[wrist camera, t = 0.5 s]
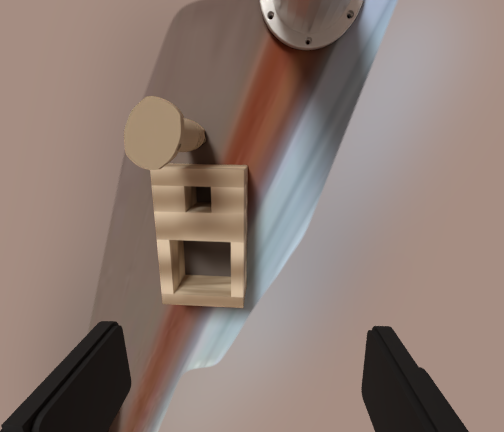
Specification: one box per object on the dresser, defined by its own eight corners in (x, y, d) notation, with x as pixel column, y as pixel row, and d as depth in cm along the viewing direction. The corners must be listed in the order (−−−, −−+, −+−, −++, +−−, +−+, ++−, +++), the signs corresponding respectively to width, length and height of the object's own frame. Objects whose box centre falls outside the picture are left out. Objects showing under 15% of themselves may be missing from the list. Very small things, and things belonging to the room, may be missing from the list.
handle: (220, 123, 38) (190, 113, 23) (201, 163, 39) (163, 178, 25) (189, 106, 37) (139, 86, 23) (172, 148, 39) (115, 153, 25)
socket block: (167, 163, 40) (150, 167, 34) (247, 165, 39) (244, 169, 33) (176, 282, 45) (162, 303, 40) (246, 286, 45) (243, 308, 39)
